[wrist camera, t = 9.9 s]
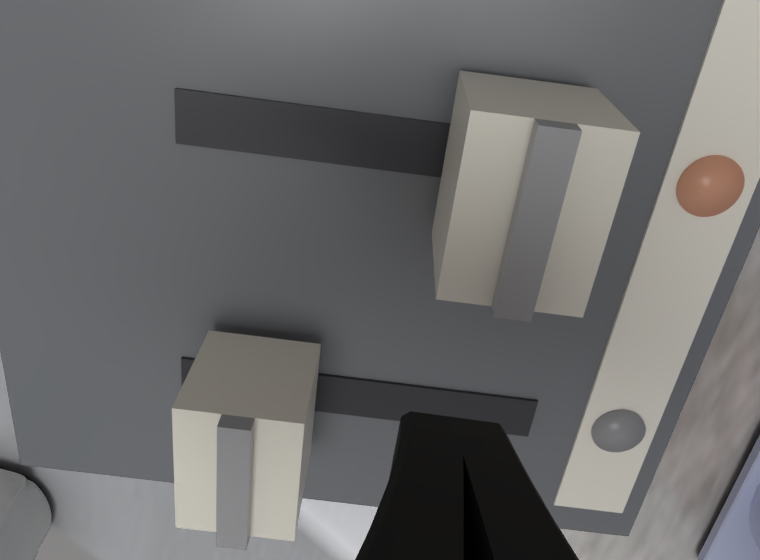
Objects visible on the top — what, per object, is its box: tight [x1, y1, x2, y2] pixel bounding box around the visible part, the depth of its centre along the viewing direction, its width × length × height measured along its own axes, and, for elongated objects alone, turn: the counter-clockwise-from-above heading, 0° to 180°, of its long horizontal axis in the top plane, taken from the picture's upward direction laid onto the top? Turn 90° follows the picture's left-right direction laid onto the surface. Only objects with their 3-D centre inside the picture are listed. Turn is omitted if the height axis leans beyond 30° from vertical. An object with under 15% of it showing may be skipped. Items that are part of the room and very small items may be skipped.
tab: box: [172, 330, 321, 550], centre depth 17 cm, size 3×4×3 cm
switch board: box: [0, 0, 760, 536], centre depth 15 cm, size 18×22×1 cm
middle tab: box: [432, 70, 640, 322], centre depth 13 cm, size 3×4×3 cm
